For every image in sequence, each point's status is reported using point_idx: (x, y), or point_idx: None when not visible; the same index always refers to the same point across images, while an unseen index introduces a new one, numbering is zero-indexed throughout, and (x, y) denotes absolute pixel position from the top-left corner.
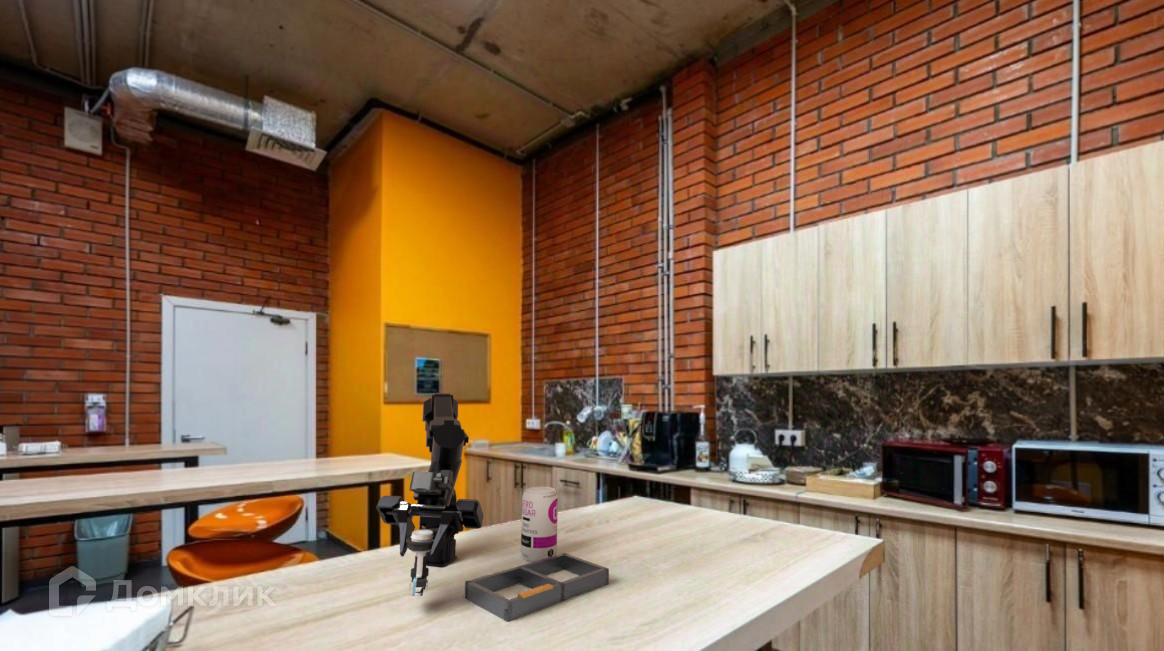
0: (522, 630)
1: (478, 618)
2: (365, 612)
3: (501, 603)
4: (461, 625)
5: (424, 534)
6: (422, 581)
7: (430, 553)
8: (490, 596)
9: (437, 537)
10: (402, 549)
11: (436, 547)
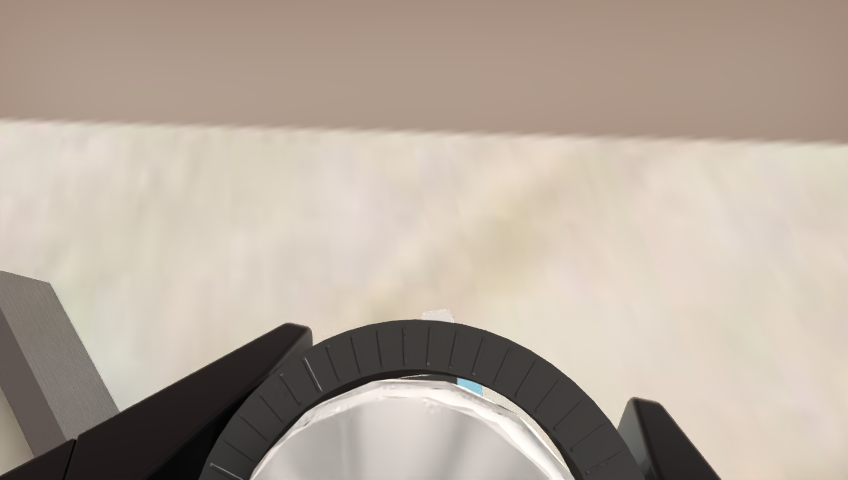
0: (9, 204)
1: (165, 327)
2: (741, 444)
3: (15, 311)
4: (240, 260)
5: (343, 466)
6: (414, 377)
7: (302, 329)
8: (51, 391)
9: (150, 435)
10: (647, 425)
11: (219, 361)
